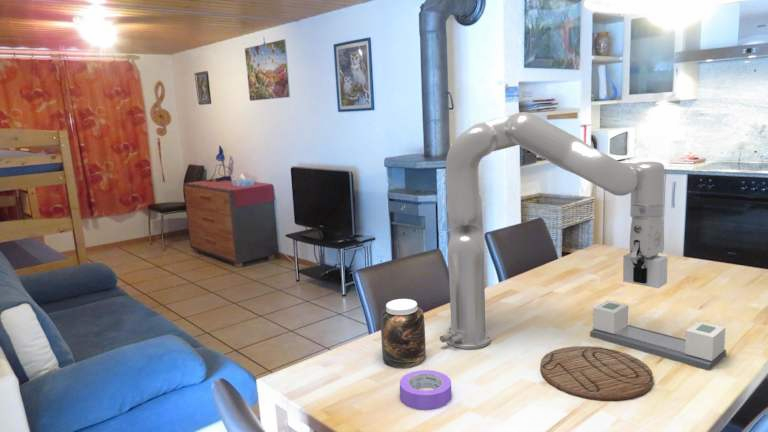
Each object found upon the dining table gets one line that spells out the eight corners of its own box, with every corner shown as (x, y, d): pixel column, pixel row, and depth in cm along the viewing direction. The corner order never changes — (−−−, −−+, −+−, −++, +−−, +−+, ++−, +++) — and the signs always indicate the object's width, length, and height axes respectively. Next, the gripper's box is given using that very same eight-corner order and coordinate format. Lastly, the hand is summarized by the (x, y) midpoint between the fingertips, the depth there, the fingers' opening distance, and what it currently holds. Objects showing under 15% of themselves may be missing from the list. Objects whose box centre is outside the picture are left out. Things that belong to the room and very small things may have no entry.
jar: (376, 353, 147) (372, 301, 144) (415, 345, 151) (413, 294, 148) (391, 372, 136) (388, 315, 133) (433, 362, 140) (431, 307, 137)
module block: (658, 288, 136) (659, 260, 135) (622, 281, 143) (623, 255, 141) (666, 283, 139) (667, 256, 138) (631, 277, 146) (632, 251, 145)
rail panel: (709, 370, 128) (709, 363, 128) (590, 336, 151) (590, 329, 150) (725, 355, 135) (726, 348, 135) (609, 324, 158) (609, 318, 157)
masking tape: (447, 383, 129) (447, 368, 129) (455, 409, 118) (455, 392, 117) (398, 386, 129) (398, 371, 128) (402, 412, 118) (401, 396, 117)
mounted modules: (711, 361, 129) (713, 336, 128) (592, 328, 151) (593, 307, 150) (724, 350, 134) (725, 326, 133) (607, 320, 156) (607, 299, 155)
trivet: (582, 412, 114) (582, 404, 114) (520, 362, 138) (520, 355, 138) (678, 390, 121) (679, 382, 121) (604, 346, 145) (604, 339, 144)
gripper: (646, 218, 129) (644, 290, 133) (675, 206, 140) (673, 274, 143) (616, 215, 135) (615, 285, 138) (646, 204, 146) (644, 269, 149)
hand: (644, 279), depth 141 cm, fingers closed on module block, 5 cm apart
